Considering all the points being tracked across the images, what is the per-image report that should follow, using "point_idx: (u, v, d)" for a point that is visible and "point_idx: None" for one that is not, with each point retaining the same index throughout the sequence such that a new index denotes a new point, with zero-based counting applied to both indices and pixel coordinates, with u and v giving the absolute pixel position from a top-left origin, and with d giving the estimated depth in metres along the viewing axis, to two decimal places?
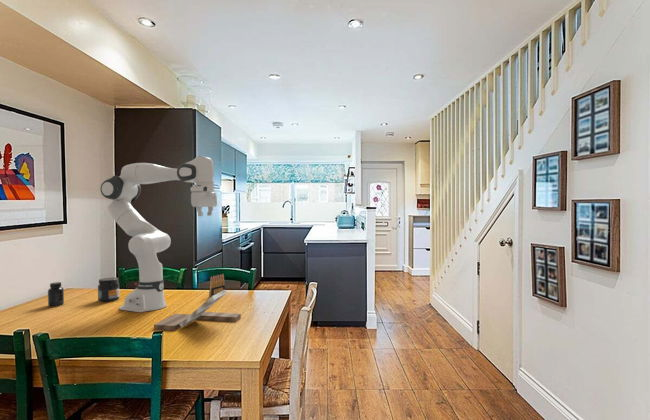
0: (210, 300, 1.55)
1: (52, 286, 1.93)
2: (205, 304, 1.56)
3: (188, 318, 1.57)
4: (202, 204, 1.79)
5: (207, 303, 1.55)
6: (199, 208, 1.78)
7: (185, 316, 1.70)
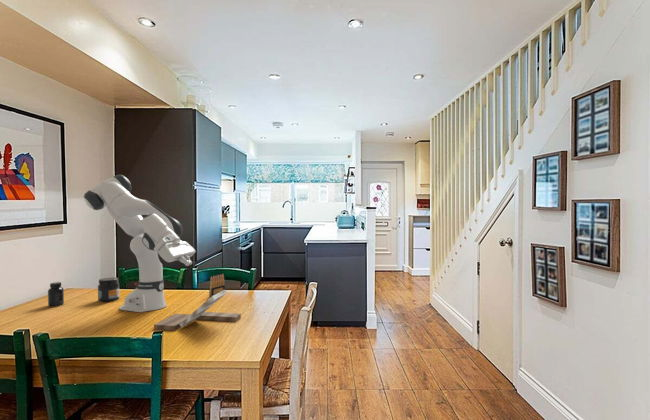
0: (210, 300, 1.55)
1: (52, 286, 1.93)
2: (205, 304, 1.56)
3: (188, 318, 1.57)
4: (176, 254, 1.58)
5: (207, 303, 1.55)
6: (181, 258, 1.61)
7: (185, 316, 1.70)
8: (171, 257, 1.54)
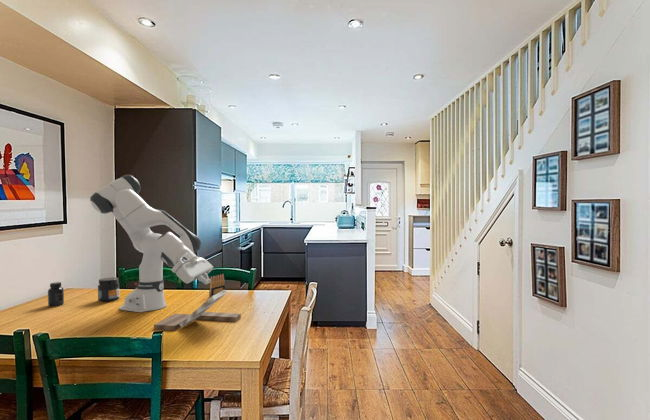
0: (210, 300, 1.55)
1: (52, 286, 1.93)
2: (205, 304, 1.56)
3: (188, 318, 1.57)
4: (194, 274, 1.55)
5: (207, 303, 1.55)
6: (199, 277, 1.59)
7: (185, 316, 1.70)
8: (189, 278, 1.51)
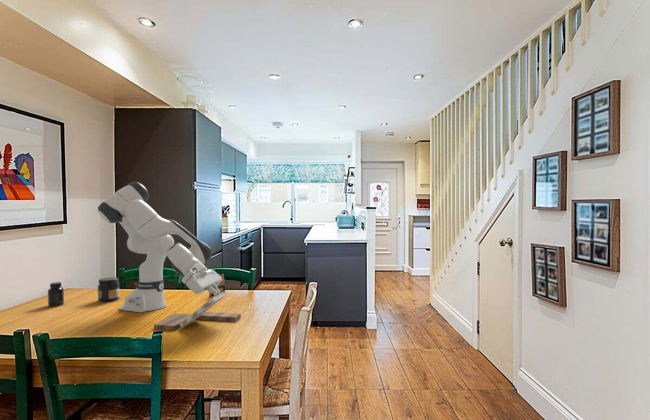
0: (211, 301, 1.55)
1: (52, 286, 1.93)
2: (206, 305, 1.55)
3: (188, 318, 1.57)
4: (204, 284, 1.54)
5: (208, 304, 1.55)
6: (209, 288, 1.58)
7: (185, 316, 1.70)
8: (200, 288, 1.50)
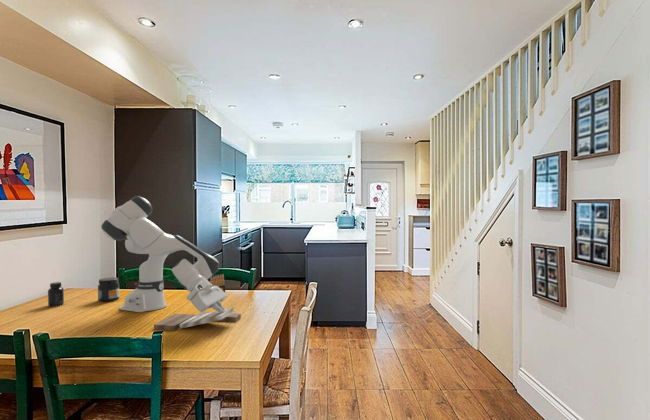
0: (217, 318, 1.55)
1: (52, 286, 1.93)
2: (211, 319, 1.55)
3: (190, 323, 1.57)
4: (209, 302, 1.54)
5: (213, 319, 1.55)
6: (214, 306, 1.58)
7: (185, 316, 1.70)
8: (205, 306, 1.50)
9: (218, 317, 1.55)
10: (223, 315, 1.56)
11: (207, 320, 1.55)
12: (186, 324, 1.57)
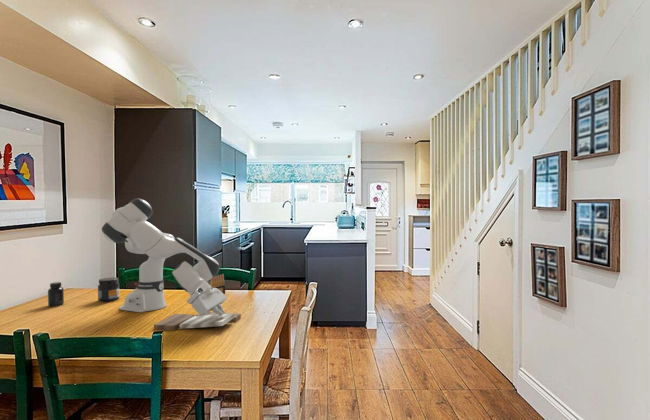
0: (218, 324, 1.55)
1: (52, 286, 1.93)
2: (212, 324, 1.55)
3: (190, 325, 1.57)
4: (210, 305, 1.55)
5: (214, 324, 1.55)
6: (214, 309, 1.59)
7: (185, 316, 1.70)
8: (205, 310, 1.52)
9: (219, 323, 1.55)
10: (224, 321, 1.56)
11: (207, 324, 1.55)
12: (186, 325, 1.57)
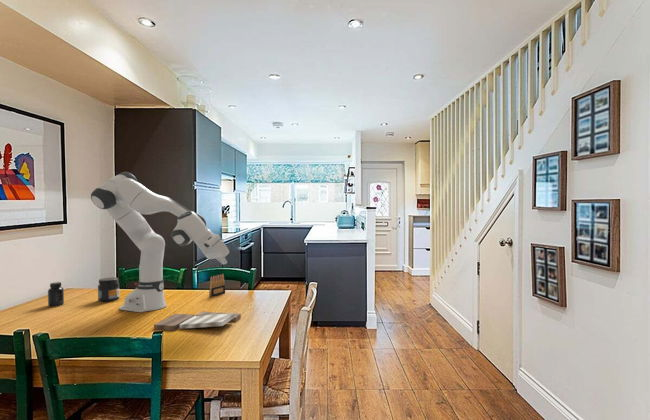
0: (218, 324, 1.55)
1: (52, 286, 1.93)
2: (212, 324, 1.55)
3: (190, 325, 1.57)
4: None
5: (214, 324, 1.55)
6: (222, 256, 1.71)
7: (185, 316, 1.70)
8: (228, 252, 1.66)
9: (219, 323, 1.55)
10: (224, 321, 1.56)
11: (207, 324, 1.55)
12: (186, 325, 1.57)
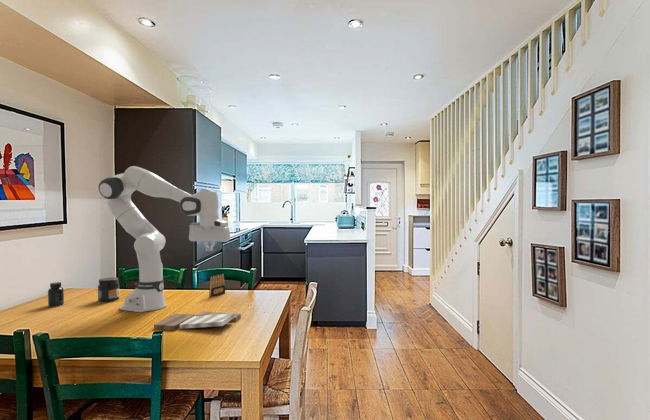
0: (218, 324, 1.55)
1: (52, 286, 1.93)
2: (212, 324, 1.55)
3: (190, 325, 1.57)
4: None
5: (214, 324, 1.55)
6: (214, 242, 1.78)
7: (185, 316, 1.70)
8: None
9: (219, 323, 1.55)
10: (224, 321, 1.56)
11: (207, 324, 1.55)
12: (186, 325, 1.57)
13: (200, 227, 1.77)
